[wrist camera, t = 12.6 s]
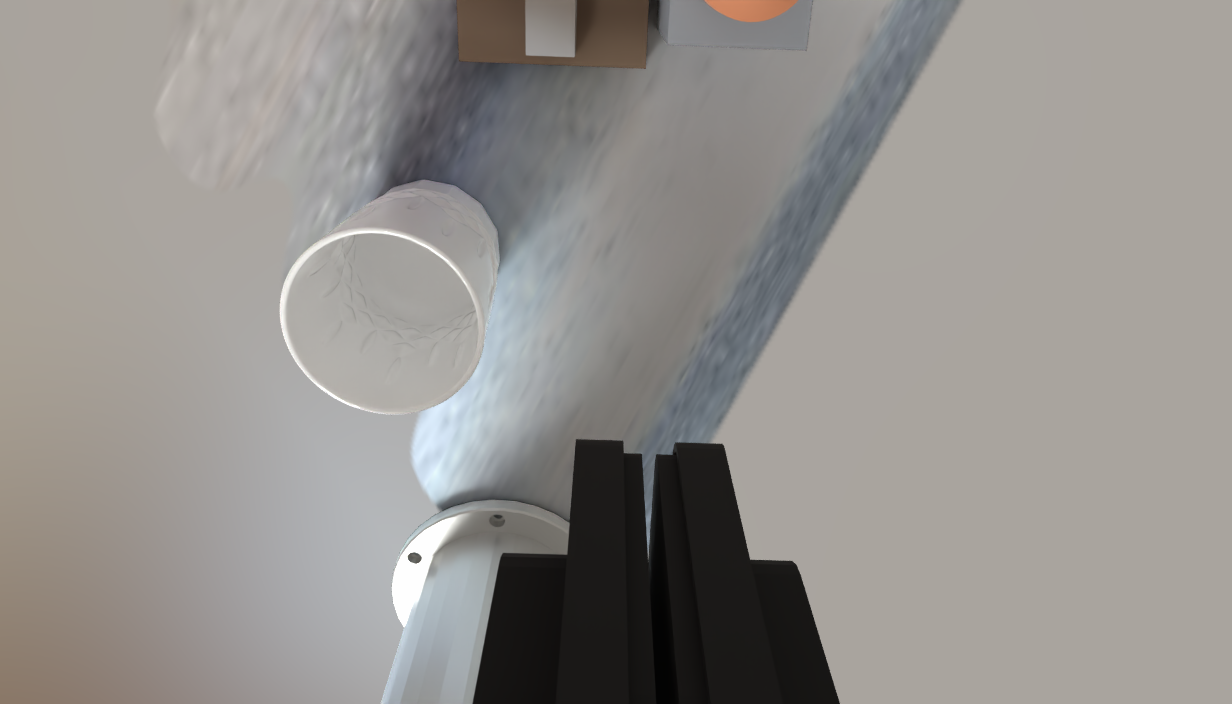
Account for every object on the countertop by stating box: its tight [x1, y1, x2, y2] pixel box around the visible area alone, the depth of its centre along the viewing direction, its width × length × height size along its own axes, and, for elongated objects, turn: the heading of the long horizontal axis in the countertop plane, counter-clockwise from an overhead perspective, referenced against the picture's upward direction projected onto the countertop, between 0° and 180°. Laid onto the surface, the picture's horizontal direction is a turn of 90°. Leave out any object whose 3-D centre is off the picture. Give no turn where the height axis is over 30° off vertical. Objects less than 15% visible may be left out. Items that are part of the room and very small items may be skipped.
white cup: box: [280, 179, 500, 414], centre depth 37 cm, size 8×8×10 cm
